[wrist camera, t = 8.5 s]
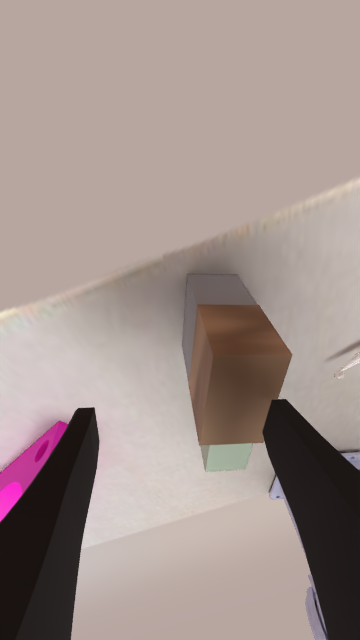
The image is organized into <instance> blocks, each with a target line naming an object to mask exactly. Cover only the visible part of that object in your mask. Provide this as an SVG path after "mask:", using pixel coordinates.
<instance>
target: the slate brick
mask: <svg viewBox="0 0 360 640" xmlns="http://www.w3.org/2000/svg"><path fill="white" fill-rule="evenodd" d="M197 304H212V305H257V303H256V302H255V300H254V299H253V297H252V296H251V294H250V293H249V291H248V290H247V288H246V287H245V285H244V284H243V282H242V281H241V279H240V278H239V276H238V275H219V274H187V284H186V298H185V311H184V325H183V339H182V348H183V354H184V360H185V365H186V371H187V377H188V382H189V377H190V368H191V359H192V350H193V340H194V331H195V322H196V313H197Z"/></svg>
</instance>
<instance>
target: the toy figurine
mask: <svg viewBox="0 0 360 640" xmlns="http://www.w3.org/2000/svg"><path fill="white" fill-rule="evenodd" d="M358 363H360V352H359V353H357V354H356V356H355V357H353V358H352V359H351V360H349V361H348V362H347V363H346V364H345V365H344V366H343V367H341V368H340V369H339V370H338V371H336V373H335V374H334V377H336V378H337V379H339V378H343V376H344V373H343V372H342V371H344V370H346V369H348V368H350V367H351V366H353V365H355V364H358Z"/></svg>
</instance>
